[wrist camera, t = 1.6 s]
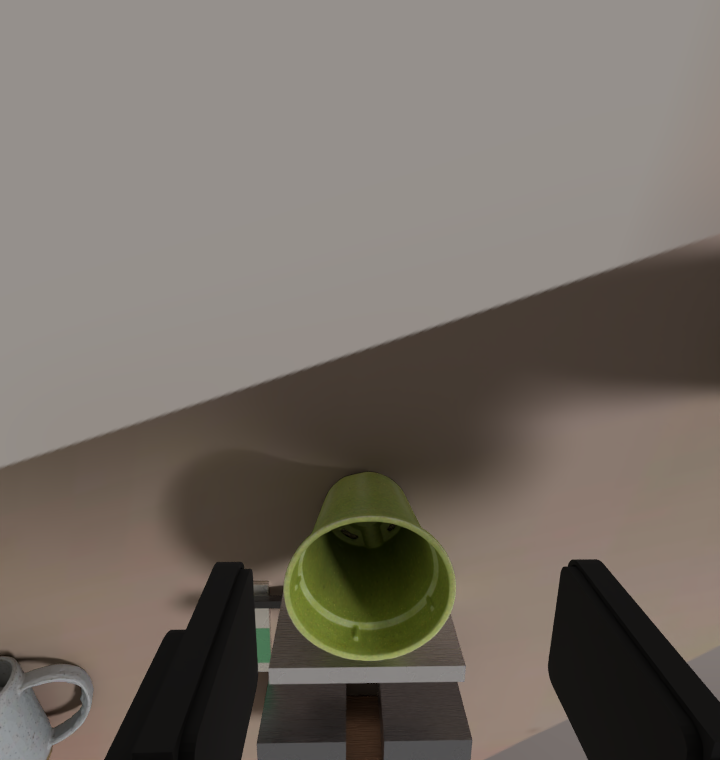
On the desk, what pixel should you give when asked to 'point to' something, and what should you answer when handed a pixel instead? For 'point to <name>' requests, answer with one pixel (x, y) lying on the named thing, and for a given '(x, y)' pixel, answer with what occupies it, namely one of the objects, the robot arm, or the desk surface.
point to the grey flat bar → (316, 666)
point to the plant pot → (369, 574)
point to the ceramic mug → (35, 709)
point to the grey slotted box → (357, 716)
